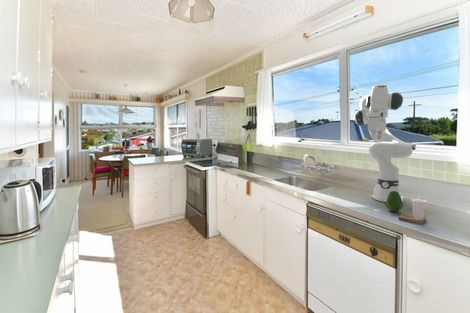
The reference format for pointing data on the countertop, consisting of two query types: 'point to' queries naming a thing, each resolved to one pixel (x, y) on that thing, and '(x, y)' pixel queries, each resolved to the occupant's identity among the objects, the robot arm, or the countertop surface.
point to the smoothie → (418, 208)
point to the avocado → (394, 201)
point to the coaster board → (411, 218)
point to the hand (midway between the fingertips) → (376, 139)
